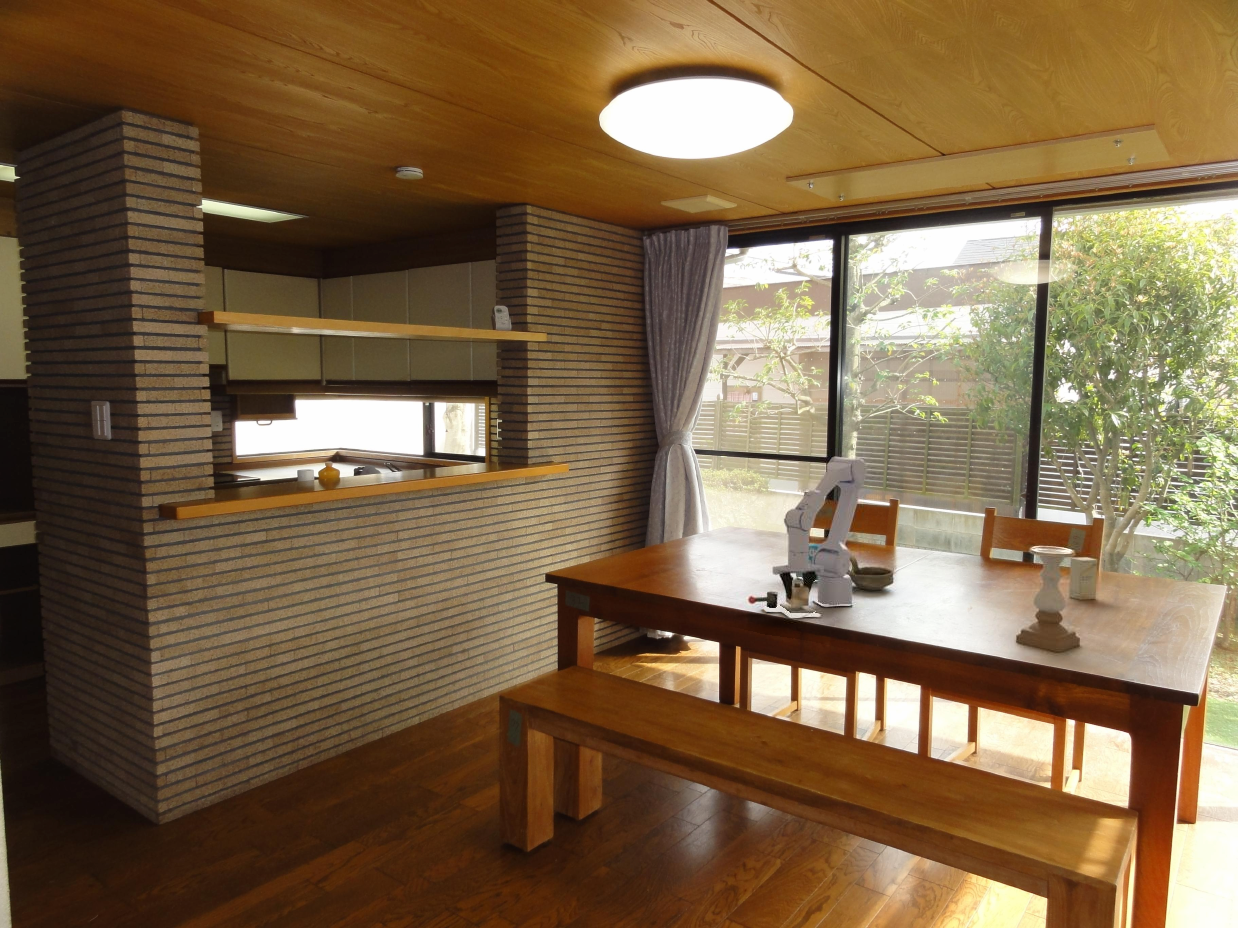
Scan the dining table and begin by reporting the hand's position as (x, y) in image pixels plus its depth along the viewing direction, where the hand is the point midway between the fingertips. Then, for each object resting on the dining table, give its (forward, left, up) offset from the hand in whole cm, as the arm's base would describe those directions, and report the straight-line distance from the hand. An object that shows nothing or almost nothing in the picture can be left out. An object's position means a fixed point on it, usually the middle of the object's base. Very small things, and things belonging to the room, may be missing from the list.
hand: (797, 598), depth 236 cm
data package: (-21, -37, -4) cm, 43 cm away
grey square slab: (+2, 0, -4) cm, 5 cm away
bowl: (-33, -24, -4) cm, 41 cm away
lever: (+9, -3, -3) cm, 10 cm away
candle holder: (-51, +38, -4) cm, 64 cm away
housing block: (0, 0, -2) cm, 2 cm away
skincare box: (-92, -1, -4) cm, 92 cm away
